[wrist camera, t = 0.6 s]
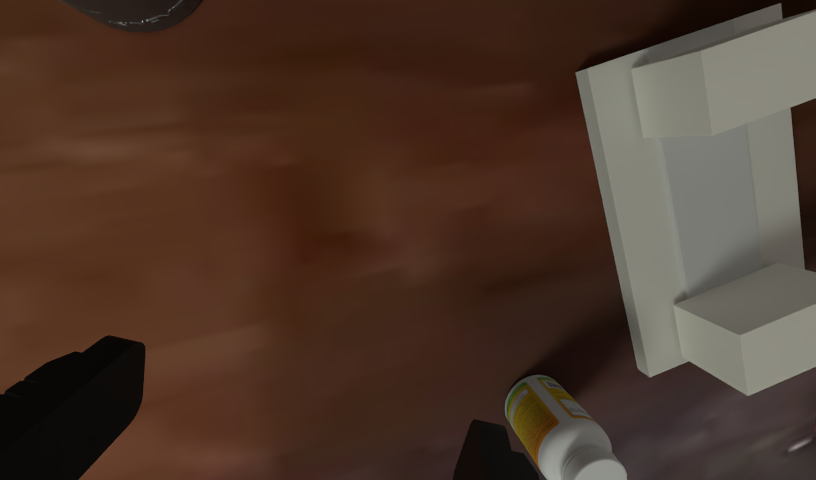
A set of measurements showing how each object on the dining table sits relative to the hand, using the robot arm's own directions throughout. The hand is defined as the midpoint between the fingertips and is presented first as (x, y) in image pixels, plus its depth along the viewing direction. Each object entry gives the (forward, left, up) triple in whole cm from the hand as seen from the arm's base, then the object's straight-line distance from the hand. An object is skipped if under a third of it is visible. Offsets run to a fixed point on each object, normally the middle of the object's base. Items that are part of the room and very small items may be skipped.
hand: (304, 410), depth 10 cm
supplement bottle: (+20, +12, -22) cm, 32 cm away
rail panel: (+8, +30, -22) cm, 37 cm away
